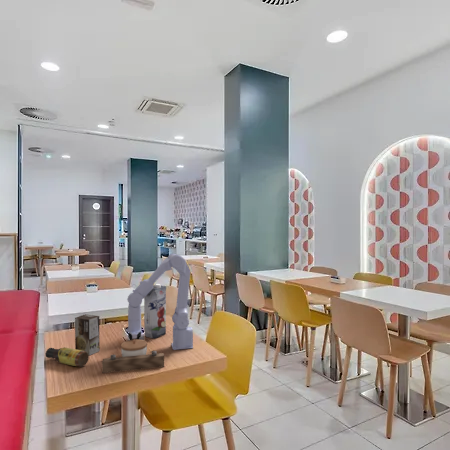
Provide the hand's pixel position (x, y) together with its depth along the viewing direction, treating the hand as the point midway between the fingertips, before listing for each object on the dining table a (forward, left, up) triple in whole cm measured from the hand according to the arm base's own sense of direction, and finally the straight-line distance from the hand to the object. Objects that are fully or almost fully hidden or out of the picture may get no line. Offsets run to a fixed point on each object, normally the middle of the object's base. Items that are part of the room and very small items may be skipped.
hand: (134, 349), depth 153 cm
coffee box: (+21, -6, -2) cm, 22 cm away
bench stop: (0, +17, -1) cm, 17 cm away
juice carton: (-10, -21, -2) cm, 23 cm away
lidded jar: (0, +11, -2) cm, 11 cm away
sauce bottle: (+20, +11, +2) cm, 22 cm away
